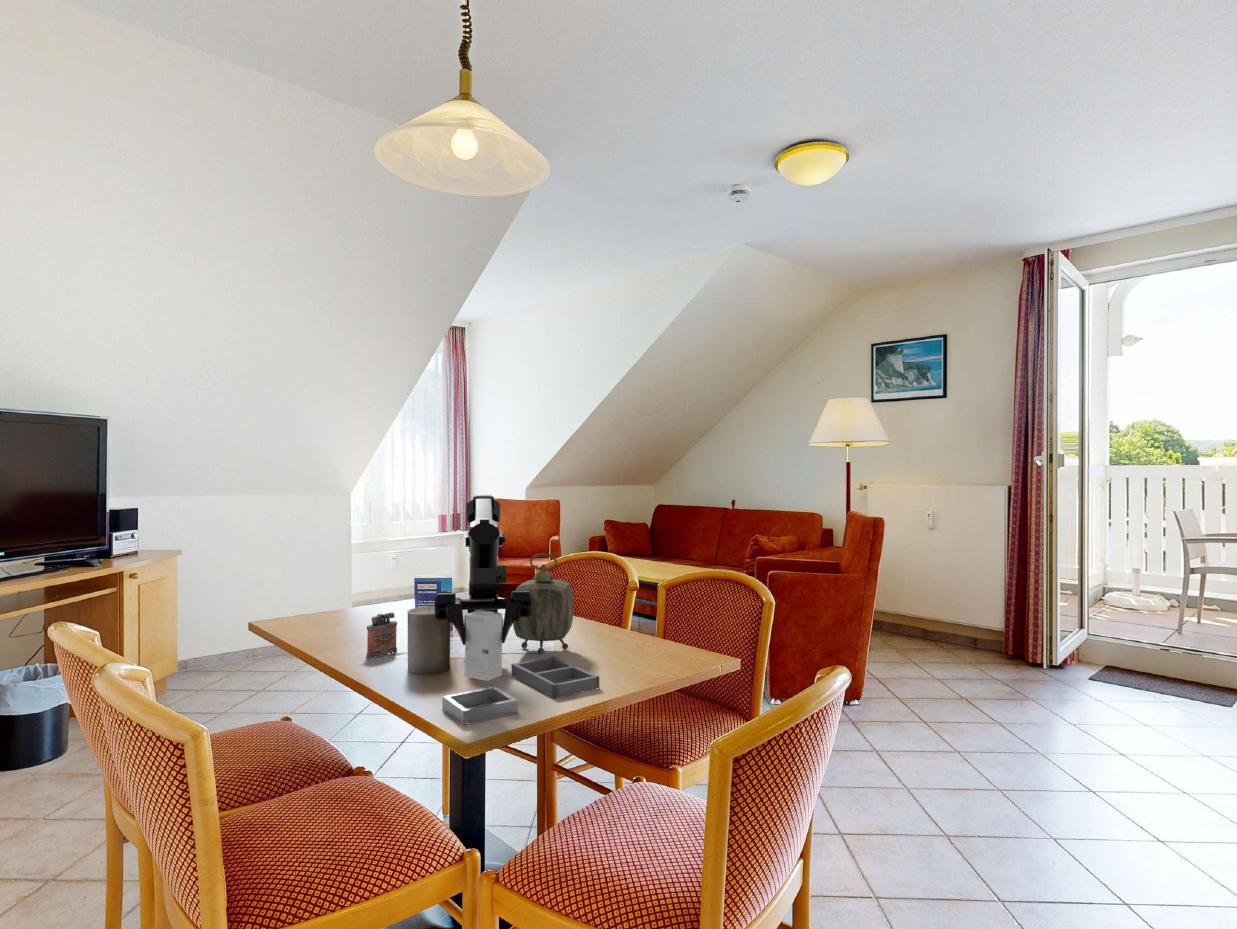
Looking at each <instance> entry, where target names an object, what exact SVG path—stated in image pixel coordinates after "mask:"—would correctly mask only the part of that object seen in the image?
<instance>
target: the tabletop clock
mask: <svg viewBox="0 0 1237 929" xmlns="http://www.w3.org/2000/svg"><path fill="white" fill-rule="evenodd" d="M538 557H548V558H551V559H552V560H553V561H554V565H551V566H548V567H547V566H546V564H543V563H542V564H541V565H540V566H541V567H540V566H536V565H534V564H533V560H534V559H535V558H538ZM529 560H530V561H529V564H530V566H531V567H532V568H533V569H535V570H538V572H536V573H535V574H534V576H533V578H532V579H529V580H526V581H524V582H522V583H521V584H520V585H518V586H517V587H516V588H515V590H514V591H529V592H530V593H531V594H532V607H531V615H530V616H528V617H520V619H519V620H517V621H514V622H513V624H512V626H513V631H514V634H515V636H516V637H517V638H519V639H521V640H524V641H523V642H521V645H520V646H521V648H522V649H527V647H528V646H529V645H528V641H536V642H539V648H537V653H538V654H539V655H543V654H544V653H545V649H544V648H543V645H544V644H543V643H544V642H552V641H553V642H556V641H559V642H560V643H561V644H562V645H561V648H562V650H567V649H568V648H569V644H568V643H566V642H564V641H565V640H564V638H566V636H567V635H568V633H569V632H570V630H571V628H572V625H573V621H574V620H573V619H574V608H575V607H574V606H575V605H574V604H575V603H574V595H573V594H574V593H573V589H572V586H571V583H569V582H567V581H565V580H561V579H560V580H558V579H554V576H553V574H552V573H551V572H549V571H550V570H552V569H553V570H554V568H555V567H557V565H558V561H557V559H556V557H555V556H554V555H552V554H550V553H537V554H534V555H532V557H531V558H530V559H529Z"/></svg>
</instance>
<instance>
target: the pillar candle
mask: <svg viewBox="0 0 1237 929" xmlns="http://www.w3.org/2000/svg"><path fill="white" fill-rule="evenodd" d="M450 668H451V623H448V622H447V620H437V619H435V605H431V604H428V606H419V607H414V608H411V609H409V610H407V670H408V672H409V673H411V674H414V675H431V674H438V673H443V672H446V671H448V670H450Z"/></svg>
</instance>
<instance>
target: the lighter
mask: <svg viewBox="0 0 1237 929" xmlns="http://www.w3.org/2000/svg"><path fill="white" fill-rule="evenodd" d="M394 618H395V612H387V613H386V612H385V613H378V614H377V615H375V616H371V623H372V624H369V625H367V626H366V630H367V642H366V643H367V646H366V647H367V648H366V649H367V650H366V651H367V652H366V658H368V657H373V658H376V657H375V656H379V657H382V656H381V655H384V656H387V655H386V654H388V653H392V652H395V653H397V652H398V647H397V626H398V621H397V620H390V619H394ZM396 651H397V652H396ZM392 654H393V653H392ZM388 655H389V654H388Z"/></svg>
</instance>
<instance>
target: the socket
mask: <svg viewBox="0 0 1237 929" xmlns="http://www.w3.org/2000/svg"><path fill="white" fill-rule="evenodd" d="M490 702H493V703H490ZM484 703H485V704H484ZM486 703H487V704H486ZM441 704H442V709H441V710H442V711H444V712H445V713H446V714H448V715H449V716H451V717H452V718H453V719H454V720H456V721H457V722H458V723H459V722H460V724H461V723H462V724H461V725H462V726H465V725H464V724H467V723H471V724H475V722H476V723H479V722H485V721H490V720H494V719H498V718H502V716H503V717H506V716H511V715H510V714H512V715H515V714H514V713H516V714H518V713H519V700H518V699H517V698H516V697H514V696H512V695H510V694H509V693H508V692H506V691H504V690H502V689H501V688H499V687H497V686H495V685H494V686H489V687H484V688H479V689H474V690H473V689H472V690H469V691H464V692H458V693H454V694H447V695H444V696H442V703H441ZM480 704H482V705H480ZM475 705H478V706H475ZM470 706H473V707H470ZM466 707H467V708H466ZM468 707H469V708H468ZM497 717H498V718H497ZM484 720H485V721H484ZM467 725H468V724H467Z"/></svg>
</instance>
